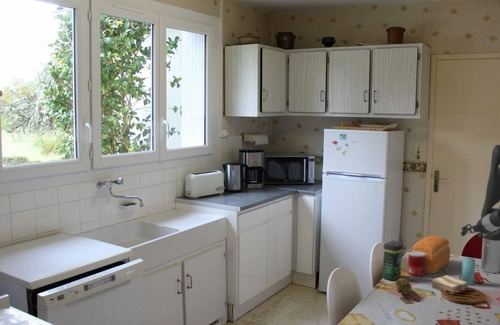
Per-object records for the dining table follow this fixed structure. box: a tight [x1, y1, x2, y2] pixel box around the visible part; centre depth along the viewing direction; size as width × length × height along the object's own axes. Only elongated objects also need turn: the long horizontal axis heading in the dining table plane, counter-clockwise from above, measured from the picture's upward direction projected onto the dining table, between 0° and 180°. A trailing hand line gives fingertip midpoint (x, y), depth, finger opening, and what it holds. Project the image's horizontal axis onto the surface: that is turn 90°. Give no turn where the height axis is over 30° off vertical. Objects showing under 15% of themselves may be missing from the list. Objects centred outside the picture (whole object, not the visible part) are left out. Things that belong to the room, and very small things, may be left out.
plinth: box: [431, 275, 468, 292], centre depth 230 cm, size 11×11×4 cm
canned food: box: [407, 250, 425, 277], centre depth 250 cm, size 8×8×11 cm
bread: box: [411, 235, 451, 275], centre depth 262 cm, size 14×26×16 cm, turn 141°
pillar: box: [461, 257, 476, 286], centre depth 237 cm, size 6×6×12 cm
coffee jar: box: [381, 239, 403, 281], centre depth 243 cm, size 10×8×19 cm
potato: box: [394, 277, 413, 296], centre depth 222 cm, size 8×13×8 cm, turn 141°
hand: (470, 234), depth 238 cm, fingers open, 8 cm apart
